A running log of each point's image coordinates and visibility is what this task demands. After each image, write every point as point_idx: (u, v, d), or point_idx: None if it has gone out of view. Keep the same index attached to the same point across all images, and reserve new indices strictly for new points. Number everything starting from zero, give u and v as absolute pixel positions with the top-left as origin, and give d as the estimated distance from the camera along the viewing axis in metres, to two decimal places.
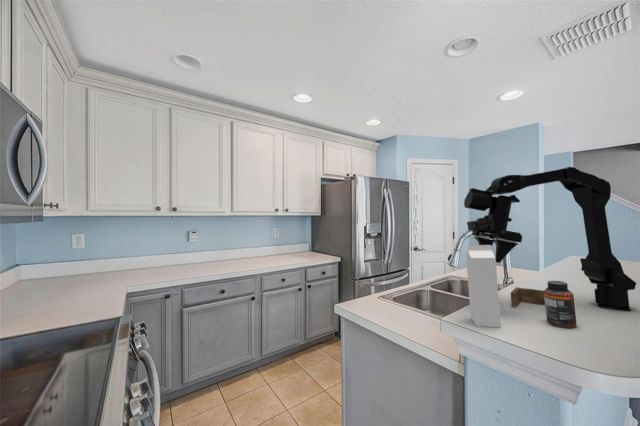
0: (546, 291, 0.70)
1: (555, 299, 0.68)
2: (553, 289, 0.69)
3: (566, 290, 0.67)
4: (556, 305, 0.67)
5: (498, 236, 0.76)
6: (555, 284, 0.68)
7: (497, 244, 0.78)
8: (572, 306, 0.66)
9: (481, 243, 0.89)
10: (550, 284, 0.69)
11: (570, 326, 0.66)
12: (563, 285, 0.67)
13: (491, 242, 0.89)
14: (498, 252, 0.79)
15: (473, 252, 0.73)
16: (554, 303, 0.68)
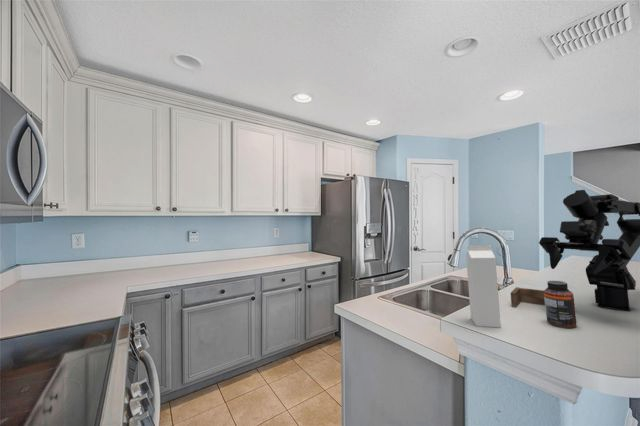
0: (546, 291, 0.70)
1: (555, 299, 0.68)
2: (553, 289, 0.69)
3: (566, 290, 0.67)
4: (556, 305, 0.67)
5: (615, 243, 0.66)
6: (555, 284, 0.68)
7: (603, 253, 0.68)
8: (572, 306, 0.66)
9: (555, 252, 0.78)
10: (550, 284, 0.69)
11: (570, 326, 0.66)
12: (563, 285, 0.67)
13: (560, 256, 0.80)
14: (600, 262, 0.68)
15: (473, 252, 0.73)
16: (554, 303, 0.68)
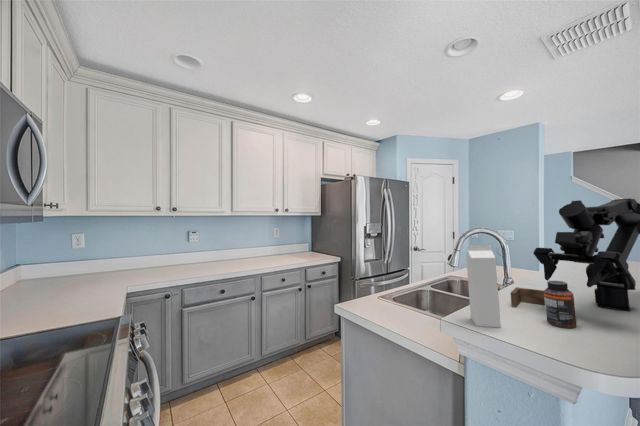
0: (546, 291, 0.70)
1: (555, 299, 0.68)
2: (553, 289, 0.69)
3: (566, 290, 0.67)
4: (556, 305, 0.67)
5: (612, 256, 0.65)
6: (555, 284, 0.68)
7: (599, 266, 0.66)
8: (572, 306, 0.66)
9: (549, 263, 0.77)
10: (550, 284, 0.69)
11: (570, 326, 0.66)
12: (563, 285, 0.67)
13: (555, 267, 0.78)
14: (596, 275, 0.66)
15: (473, 252, 0.73)
16: (554, 303, 0.68)
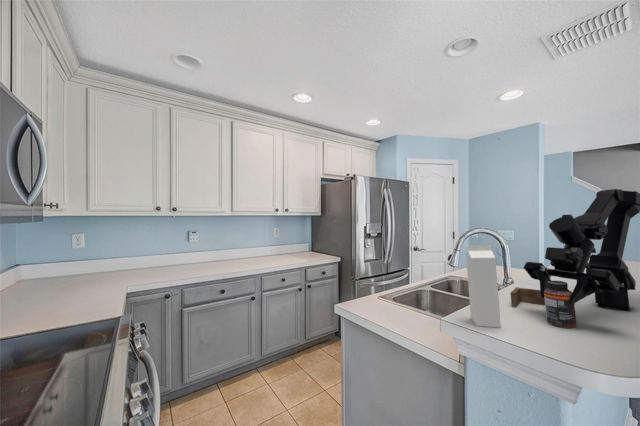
0: (546, 291, 0.70)
1: (555, 299, 0.68)
2: (553, 289, 0.69)
3: (566, 290, 0.67)
4: (556, 305, 0.67)
5: (602, 274, 0.63)
6: (555, 284, 0.68)
7: (581, 283, 0.66)
8: (572, 306, 0.66)
9: (545, 280, 0.73)
10: (550, 284, 0.69)
11: (570, 326, 0.66)
12: (563, 285, 0.67)
13: None
14: (578, 292, 0.65)
15: (473, 252, 0.73)
16: (554, 303, 0.68)
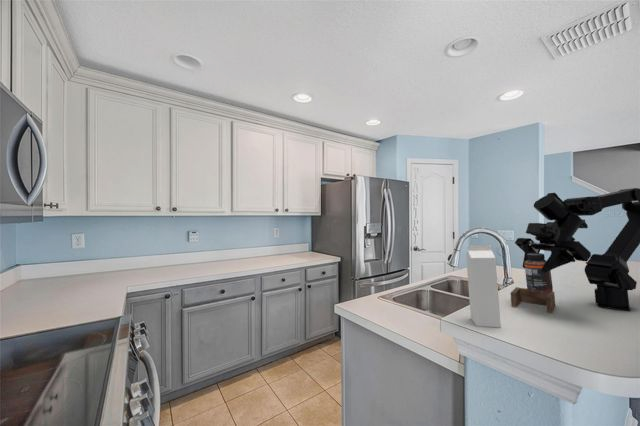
0: (525, 262, 0.78)
1: (530, 268, 0.76)
2: (530, 260, 0.77)
3: (541, 260, 0.75)
4: (531, 273, 0.76)
5: (569, 245, 0.69)
6: (531, 255, 0.77)
7: (554, 253, 0.73)
8: (546, 274, 0.74)
9: None
10: (528, 255, 0.78)
11: (544, 292, 0.74)
12: (538, 256, 0.75)
13: None
14: (551, 261, 0.73)
15: (473, 252, 0.73)
16: (530, 272, 0.76)
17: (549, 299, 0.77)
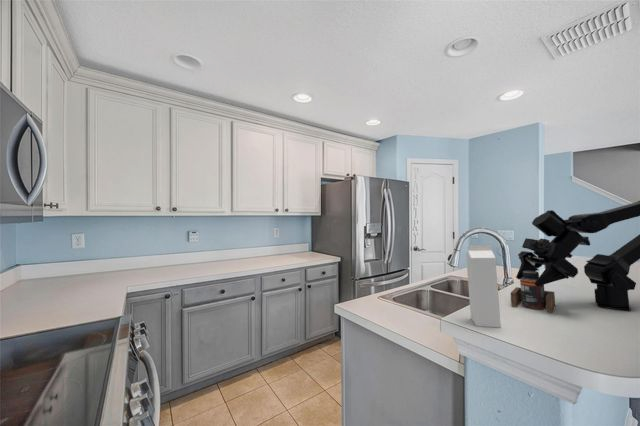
0: None
1: (523, 284, 0.83)
2: (524, 277, 0.83)
3: (534, 278, 0.81)
4: (524, 289, 0.82)
5: (555, 261, 0.75)
6: (525, 272, 0.83)
7: (547, 269, 0.77)
8: (537, 291, 0.80)
9: (524, 265, 0.88)
10: (523, 272, 0.84)
11: (534, 307, 0.80)
12: (531, 274, 0.81)
13: (534, 269, 0.87)
14: (543, 276, 0.77)
15: (473, 252, 0.73)
16: (523, 288, 0.83)
17: (549, 299, 0.77)
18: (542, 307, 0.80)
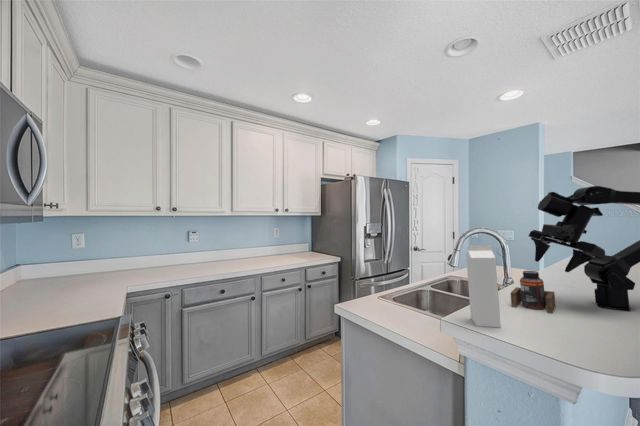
0: None
1: (523, 284, 0.83)
2: (524, 277, 0.83)
3: (534, 278, 0.81)
4: (524, 289, 0.82)
5: (586, 249, 0.74)
6: (525, 273, 0.83)
7: (576, 255, 0.77)
8: (537, 291, 0.80)
9: (540, 246, 0.88)
10: (523, 272, 0.84)
11: (534, 307, 0.80)
12: (531, 274, 0.81)
13: (547, 247, 0.88)
14: (573, 263, 0.78)
15: (473, 252, 0.73)
16: (523, 288, 0.83)
17: (549, 299, 0.77)
18: (542, 307, 0.80)
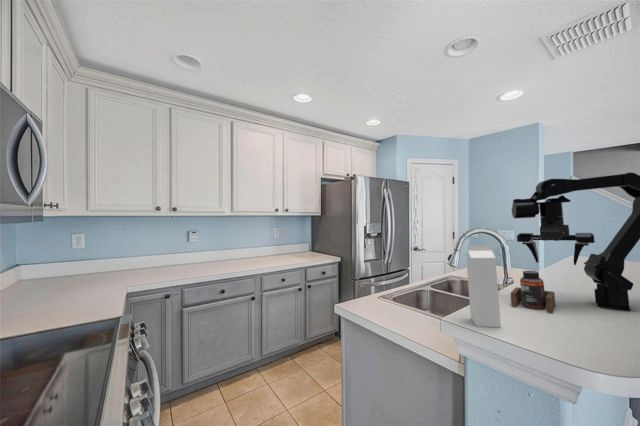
0: None
1: (523, 284, 0.83)
2: (524, 277, 0.83)
3: (534, 278, 0.81)
4: (524, 289, 0.82)
5: (588, 241, 0.77)
6: (525, 272, 0.83)
7: (579, 248, 0.80)
8: (537, 291, 0.80)
9: (534, 248, 0.88)
10: (523, 272, 0.84)
11: (534, 307, 0.80)
12: (531, 274, 0.81)
13: (535, 244, 0.90)
14: (578, 255, 0.80)
15: (473, 252, 0.73)
16: (523, 288, 0.83)
17: (549, 299, 0.77)
18: (542, 307, 0.80)
